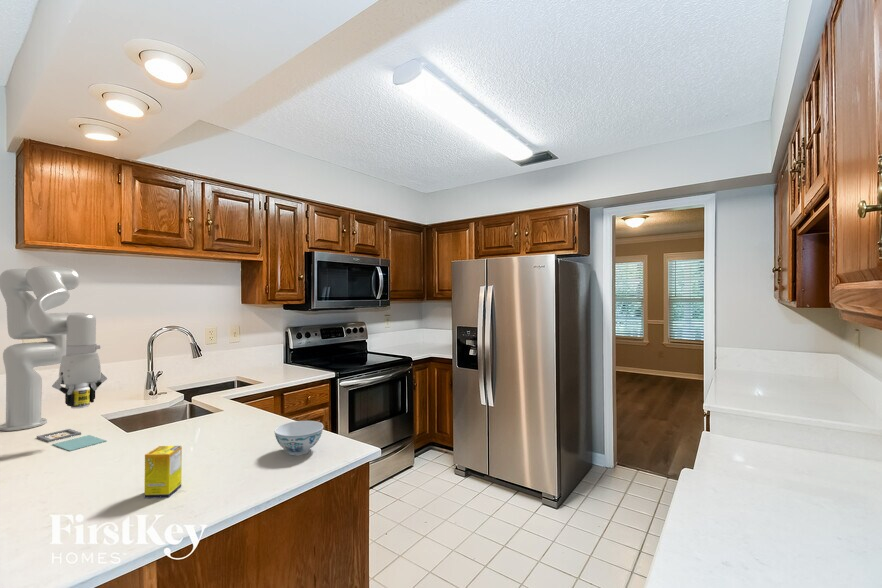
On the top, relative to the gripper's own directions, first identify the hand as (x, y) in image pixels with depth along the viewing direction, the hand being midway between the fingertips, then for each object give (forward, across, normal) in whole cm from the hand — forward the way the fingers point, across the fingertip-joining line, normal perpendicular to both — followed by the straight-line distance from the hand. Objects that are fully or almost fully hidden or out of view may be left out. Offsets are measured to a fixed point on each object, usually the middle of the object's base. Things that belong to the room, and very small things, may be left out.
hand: (80, 403), depth 137 cm
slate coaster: (+13, 0, -15) cm, 20 cm away
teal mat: (+13, 0, 0) cm, 13 cm away
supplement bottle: (+1, 0, 0) cm, 1 cm away
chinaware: (+14, -29, +71) cm, 78 cm away
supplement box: (+14, +7, +61) cm, 63 cm away
